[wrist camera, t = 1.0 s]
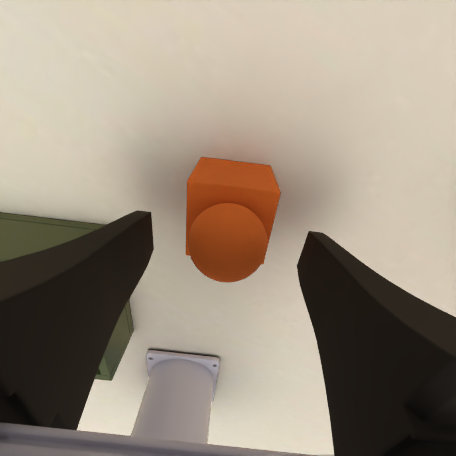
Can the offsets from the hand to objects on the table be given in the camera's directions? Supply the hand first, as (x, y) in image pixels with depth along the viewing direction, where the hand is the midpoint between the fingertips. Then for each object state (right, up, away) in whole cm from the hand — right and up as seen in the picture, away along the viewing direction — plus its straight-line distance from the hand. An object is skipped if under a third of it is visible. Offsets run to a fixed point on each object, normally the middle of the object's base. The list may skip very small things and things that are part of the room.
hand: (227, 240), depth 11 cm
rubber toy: (0, +3, +5) cm, 6 cm away
